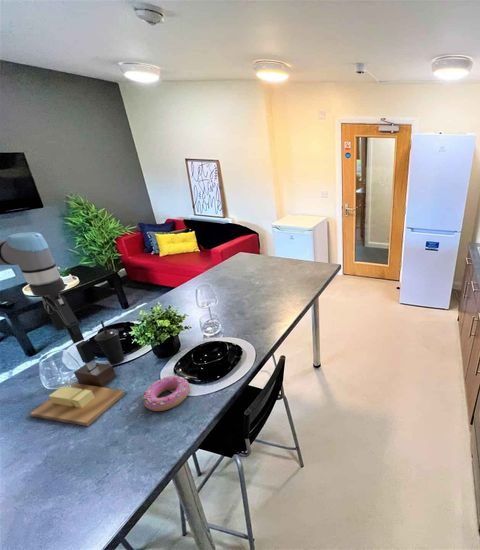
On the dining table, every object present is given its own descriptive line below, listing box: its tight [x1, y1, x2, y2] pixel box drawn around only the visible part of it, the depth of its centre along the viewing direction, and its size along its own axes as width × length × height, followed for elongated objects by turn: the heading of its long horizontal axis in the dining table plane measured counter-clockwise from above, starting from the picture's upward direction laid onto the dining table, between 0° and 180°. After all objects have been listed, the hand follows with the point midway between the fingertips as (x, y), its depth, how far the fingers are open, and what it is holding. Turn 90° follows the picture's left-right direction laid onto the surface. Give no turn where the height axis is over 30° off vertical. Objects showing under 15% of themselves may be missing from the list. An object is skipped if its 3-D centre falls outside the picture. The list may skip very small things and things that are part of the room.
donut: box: [141, 375, 190, 412], centre depth 107 cm, size 14×14×5 cm
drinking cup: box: [94, 320, 125, 365], centre depth 120 cm, size 8×8×20 cm
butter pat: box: [72, 390, 95, 408], centre depth 102 cm, size 3×5×4 cm, turn 172°
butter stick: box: [48, 385, 83, 406], centre depth 103 cm, size 8×5×4 cm, turn 82°
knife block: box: [73, 362, 117, 388], centre depth 113 cm, size 10×6×6 cm, turn 82°
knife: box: [74, 340, 98, 372], centre depth 110 cm, size 2×3×18 cm
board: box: [29, 382, 126, 427], centre depth 103 cm, size 22×14×2 cm, turn 82°
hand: (70, 334), depth 102 cm, fingers open, 13 cm apart
